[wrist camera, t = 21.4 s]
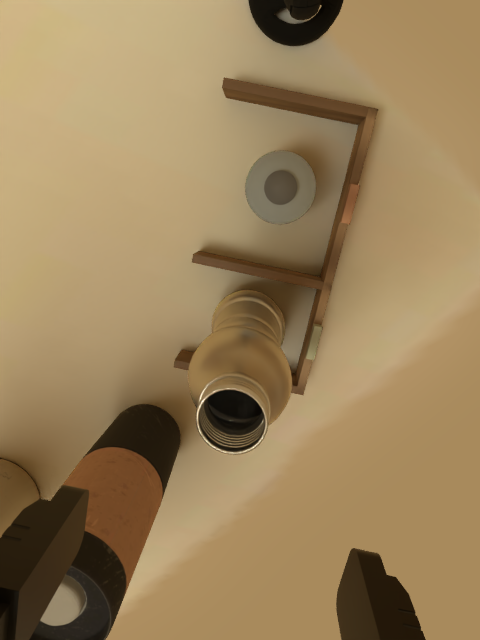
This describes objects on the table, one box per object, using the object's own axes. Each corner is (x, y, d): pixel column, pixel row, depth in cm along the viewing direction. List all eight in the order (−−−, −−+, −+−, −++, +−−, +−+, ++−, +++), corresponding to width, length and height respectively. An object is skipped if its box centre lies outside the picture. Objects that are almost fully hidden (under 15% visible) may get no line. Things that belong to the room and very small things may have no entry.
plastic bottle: (263, 272, 39) (258, 333, 20) (296, 336, 40) (321, 451, 21) (202, 304, 40) (140, 390, 21) (236, 364, 41) (207, 499, 22)
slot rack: (300, 382, 41) (303, 398, 38) (180, 356, 41) (171, 370, 38) (369, 117, 35) (380, 106, 31) (227, 88, 35) (222, 74, 32)
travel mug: (193, 458, 44) (133, 650, 25) (126, 475, 45) (18, 671, 26) (168, 393, 42) (83, 543, 23) (99, 411, 44) (-37, 570, 24)
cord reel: (300, 228, 38) (306, 231, 31) (243, 215, 38) (238, 216, 31) (315, 167, 36) (325, 158, 30) (256, 154, 36) (253, 142, 30)
